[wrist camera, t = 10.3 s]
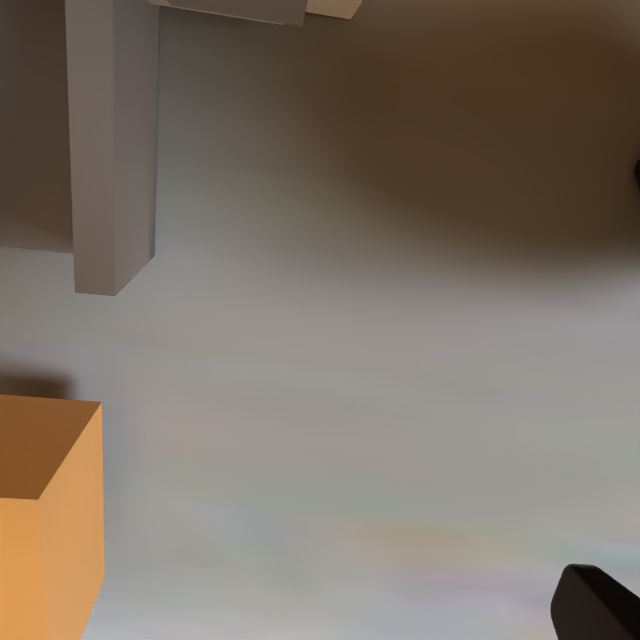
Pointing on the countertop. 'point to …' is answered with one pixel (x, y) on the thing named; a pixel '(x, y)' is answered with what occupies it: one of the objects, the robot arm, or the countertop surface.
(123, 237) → the socket box
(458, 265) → the countertop surface
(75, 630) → the plug
